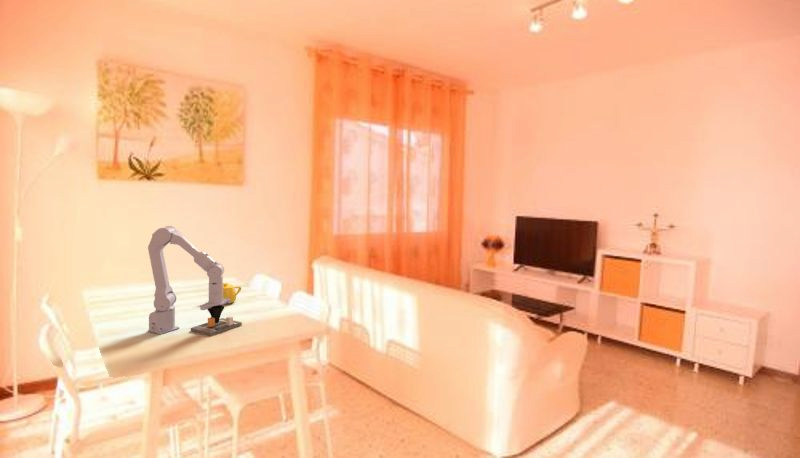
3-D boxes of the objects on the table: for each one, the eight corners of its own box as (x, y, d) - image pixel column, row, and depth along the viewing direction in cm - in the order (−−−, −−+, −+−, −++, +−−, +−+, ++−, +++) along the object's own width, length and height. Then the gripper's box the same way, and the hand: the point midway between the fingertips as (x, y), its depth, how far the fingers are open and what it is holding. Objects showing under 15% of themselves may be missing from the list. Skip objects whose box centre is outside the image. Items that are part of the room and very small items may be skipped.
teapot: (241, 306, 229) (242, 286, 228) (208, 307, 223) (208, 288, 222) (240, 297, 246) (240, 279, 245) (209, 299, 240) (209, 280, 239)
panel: (211, 336, 183) (211, 324, 182) (190, 331, 188) (190, 319, 187) (241, 325, 198) (241, 314, 198) (222, 321, 203) (222, 310, 203)
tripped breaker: (211, 327, 189) (211, 319, 188) (207, 326, 189) (207, 318, 189) (214, 325, 190) (214, 317, 190) (211, 325, 191) (211, 317, 191)
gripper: (208, 296, 183) (208, 328, 184) (235, 290, 196) (235, 319, 197) (196, 294, 185) (196, 325, 187) (223, 287, 199) (223, 317, 200)
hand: (215, 322), depth 192 cm, fingers closed
